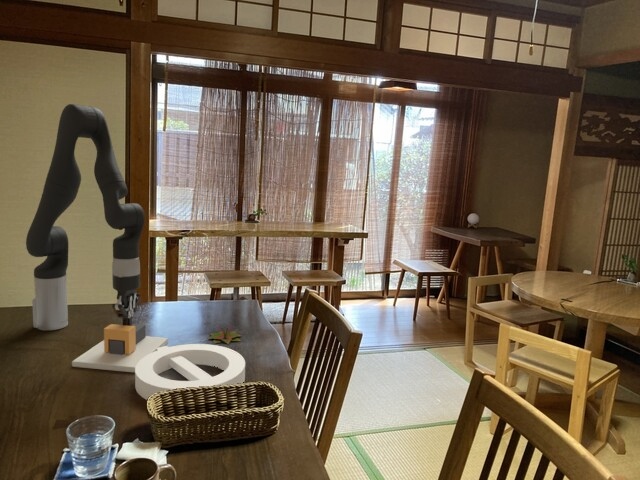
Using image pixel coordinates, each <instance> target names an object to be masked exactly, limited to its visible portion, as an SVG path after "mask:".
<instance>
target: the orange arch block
mask: <svg viewBox="0 0 640 480" xmlns="http://www.w3.org/2000/svg"><path fill="white" fill-rule="evenodd" d="M103 340H104V352H110V340H122V341H125V354H130V353H131V352H133V351H134V350H135V349H136V331H135V326H127V325H123V324H115V323H114V324H113V323H111V324H109V325H107V326H106V327H104V328H103Z"/></svg>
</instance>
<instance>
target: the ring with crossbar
mask: <svg viewBox="0 0 640 480" xmlns="http://www.w3.org/2000/svg"><path fill="white" fill-rule="evenodd" d="M197 365H201V366H202V365H203V366H211V367H214V366H215V367H214V368H217V367H218V369H220V370H222V372H220V373H219V374H217V375H214V376H212V375H210V374H209V373H208V372H206V371H205V370H203V369H201V368H200V367H199V366H197ZM170 369H173V370H175V371H176V372H178V373H179V374H180V375H182V376H183V377H184V378H185V379H187V380H175V379H174V380H173V379H169V378H166V377H163V376H160V374H162V373H163V372H164V371H167V370H170ZM223 370H224V371H223ZM245 379H246V360H245V357H243V356H242V354H241V353H239V352H238V351H236V350H233V349H231V348H229V347H226V346H221V345H216V344H207V343H192V344H191V343H188V344H178V345H173V346H168V345H165V346H163V347H159V348H156V351H155V352H152V353H150V354H148V355H147V356H145V357H143V358H142V359H141V360H140V361H139V362H138V363H137V365H136V367H135V372H134V381H135V382H134V386H135V387H134V388H135V390H136V393H137V394H138V395H139V396H140V397H141V398H143V399H145V400H146V401H148V400H147V399H148V397H149V396H151V395H152V394H154V393H157V392H160V391H164V390H169V389H176V388H186V387H199V386H213V385H227V384H237V383H243V382H244V383H245V382H246V381H245Z"/></svg>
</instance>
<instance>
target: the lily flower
mask: <svg viewBox="0 0 640 480" xmlns="http://www.w3.org/2000/svg"><path fill="white" fill-rule="evenodd" d="M230 327H231V326H230V325H228V324H227V326H226V328H223V327H221V326H218V328H219V329H220V330H219V331H218V332H214V333H209V335H210V337H208V340H212V339H214V340H212V341H213V344H212V345H216V344H217V343H225V344H227V345H229V344H230V342H241V339H240V338H238V337H242V335H241V334H238V333H237V331H232V330H233V329H232V328H231V329H230Z"/></svg>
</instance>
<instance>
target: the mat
mask: <svg viewBox="0 0 640 480" xmlns="http://www.w3.org/2000/svg"><path fill="white" fill-rule="evenodd" d="M167 344H169V338H168V337H160V336H149V335H145V338H144V339H143V340H141V341H140V342H139V343H138V344H136V349H135V350H134V351H133V352H131V353H130V354H124V355H119V354H110V352H104V339H103V340H102V341H100V342H99V343H97V344H96V345H94V346H93V347H91V348H89V350H87V351H86V352H84V353H82V354H81V355H80V356H77V358H75V359H73V360H72V361H71V365H72V367H73V368H74V367H75V368H84V369H95V370H106V371H116V372H126V373H135V367H136V365H137V363H138V362H139V361H140V360H141V359H142V358H143V357H145V356H147V355H148V354H150V353H152V352H155V351H156V348H159V347H163V346H167Z"/></svg>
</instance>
